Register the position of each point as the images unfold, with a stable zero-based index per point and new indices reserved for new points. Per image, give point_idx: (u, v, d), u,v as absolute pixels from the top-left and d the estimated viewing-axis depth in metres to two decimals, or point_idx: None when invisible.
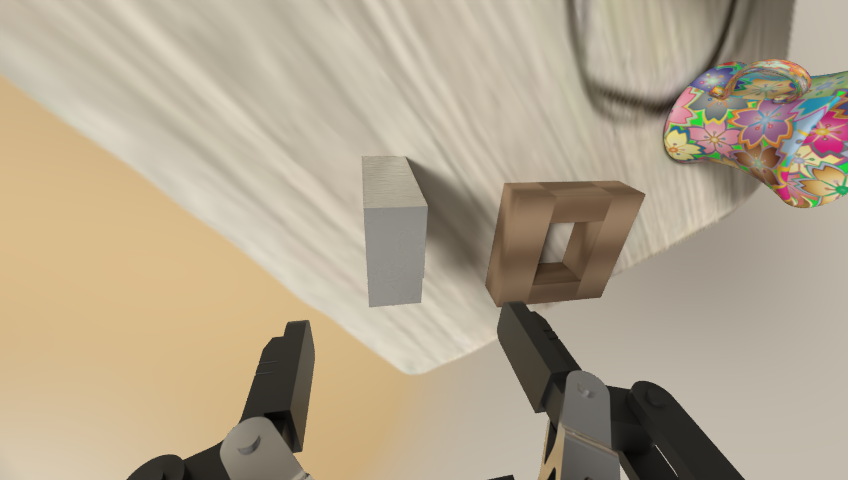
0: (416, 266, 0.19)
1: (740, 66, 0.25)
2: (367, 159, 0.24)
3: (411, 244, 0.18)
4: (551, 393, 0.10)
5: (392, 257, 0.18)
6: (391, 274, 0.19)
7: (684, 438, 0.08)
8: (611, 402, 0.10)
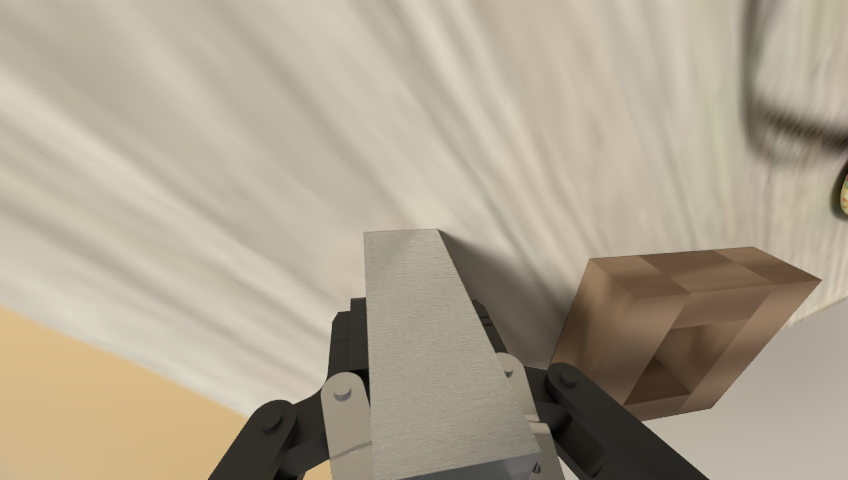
0: None
1: None
2: (374, 241, 0.14)
3: None
4: None
5: None
6: None
7: (599, 409, 0.09)
8: (529, 382, 0.10)
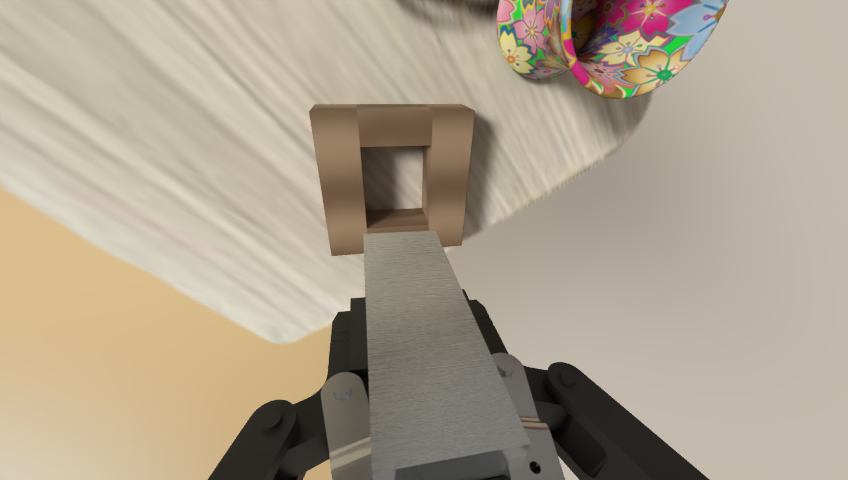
0: None
1: None
2: (374, 242, 0.14)
3: None
4: None
5: None
6: None
7: (599, 409, 0.09)
8: (529, 382, 0.10)
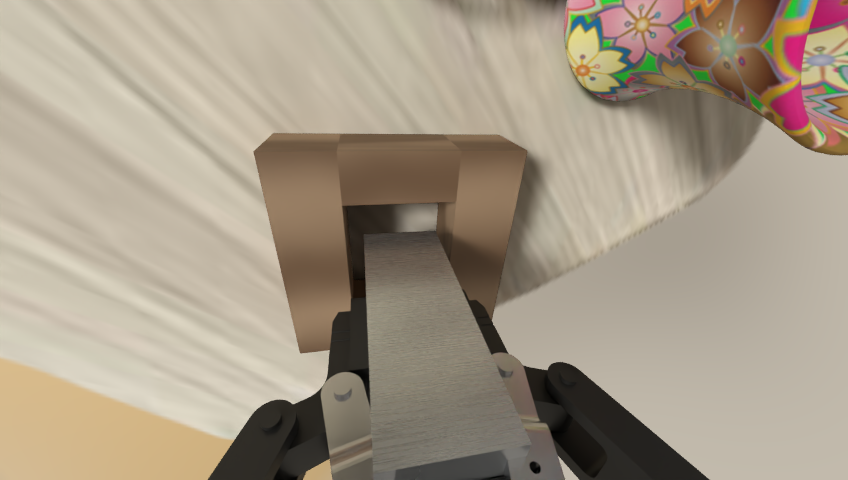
0: None
1: None
2: (374, 243, 0.14)
3: None
4: None
5: None
6: None
7: (599, 409, 0.09)
8: (529, 382, 0.10)
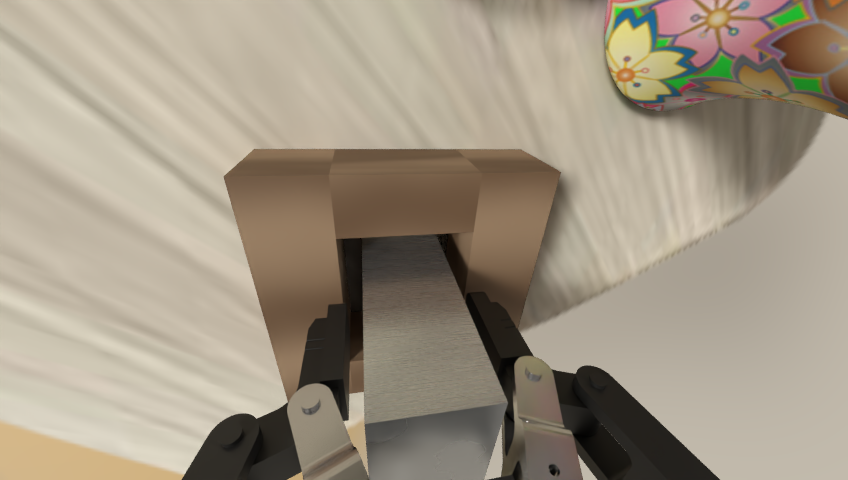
0: None
1: None
2: None
3: (464, 458, 0.09)
4: (502, 378, 0.11)
5: (422, 479, 0.09)
6: None
7: (628, 416, 0.09)
8: (557, 386, 0.10)
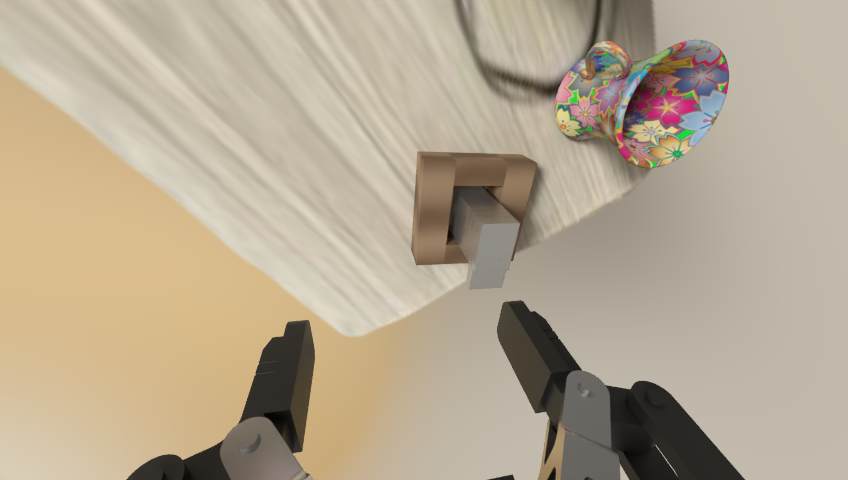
0: (505, 262, 0.29)
1: (608, 54, 0.30)
2: (457, 187, 0.35)
3: (505, 247, 0.28)
4: (551, 393, 0.10)
5: (492, 255, 0.29)
6: (489, 266, 0.29)
7: (684, 438, 0.08)
8: (611, 402, 0.10)
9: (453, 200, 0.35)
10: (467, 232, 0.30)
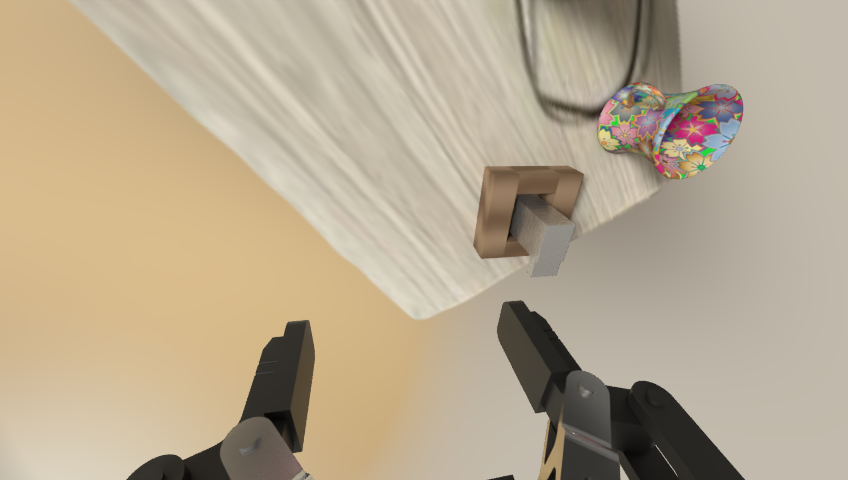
0: (561, 254, 0.37)
1: None
2: None
3: (562, 243, 0.36)
4: (551, 393, 0.10)
5: (552, 249, 0.36)
6: (549, 258, 0.37)
7: (684, 438, 0.08)
8: (611, 402, 0.10)
9: None
10: (529, 231, 0.38)
